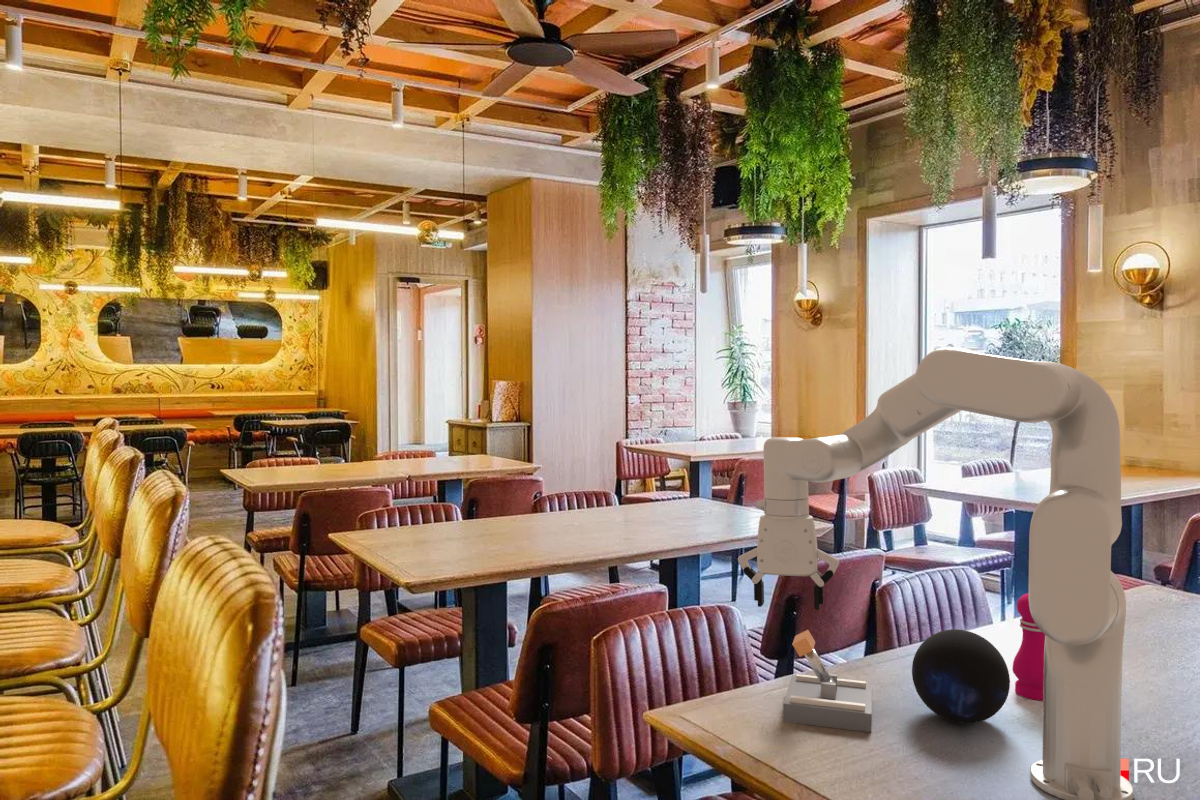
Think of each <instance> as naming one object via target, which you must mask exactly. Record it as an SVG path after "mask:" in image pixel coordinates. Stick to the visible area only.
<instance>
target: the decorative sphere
mask: <svg viewBox="0 0 1200 800" xmlns="http://www.w3.org/2000/svg"><path fill="white" fill-rule="evenodd" d="M1007 665H1008V664H1007V663H1006V661H1005V659H1004V657H1003V655H1002V654H1001V653H1000V651H999V650H998V649H997V647H995V645H993V644H992V642H990V641H989V640H988V639H986V638H985V637H983V636H981V635H979V634H977V633H974V632H972V631H968V630H965V629H958V628H957V629H956V628H955V629H953V628H951V629H945V630H942V631H938V632H936V633H933V634H932V635H930V636H928V637H927V638H926V639H925V640H924V641H922V643H921V644H920V645H919V646H918V648H917V650H916V651H915V653H914V656H913V660H912V665H911V676H912V678H911V679H912V682H913V686H914V688H915V690H916V693H917V695H918V696H919V698H920V700H921V701H922V702H923V704H924V705H925V706H926V707H927V708H928V709H929V710H930V711H932V712H933V713H934V714H935V715H937V716H939V717H940V718H943V719H944V720H946V721H949V722H953V723H957V724H963V725H964V724H965V725H966V724H968V725H969V724H970V725H971V724H976V723H981V722H984V721H986V720H989V719H991V717H993V716H995V715H996V714H997V713H998V712H999V711H1000V710H1001V709H1002V708H1003V706H1004V704H1005V703H1006V701H1007V699H1008V696H1009V693H1010V687H1011V680H1010V679H1011V678H1010V673H1009V668H1008V666H1007Z"/></svg>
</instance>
